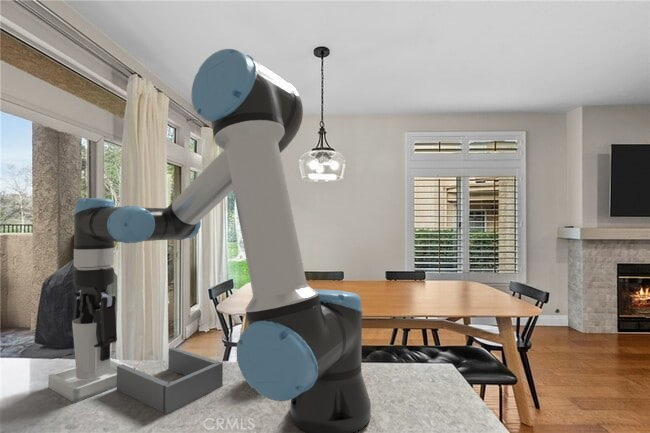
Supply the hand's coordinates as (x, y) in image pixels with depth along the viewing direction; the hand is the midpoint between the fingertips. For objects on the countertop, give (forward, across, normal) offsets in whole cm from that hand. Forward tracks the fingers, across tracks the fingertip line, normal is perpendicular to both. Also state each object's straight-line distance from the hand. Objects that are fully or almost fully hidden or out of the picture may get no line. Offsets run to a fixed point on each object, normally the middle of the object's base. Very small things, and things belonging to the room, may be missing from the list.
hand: (93, 370), depth 78 cm
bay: (+3, -16, -8) cm, 18 cm away
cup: (+1, 0, 0) cm, 1 cm away
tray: (+3, 0, 0) cm, 3 cm away
